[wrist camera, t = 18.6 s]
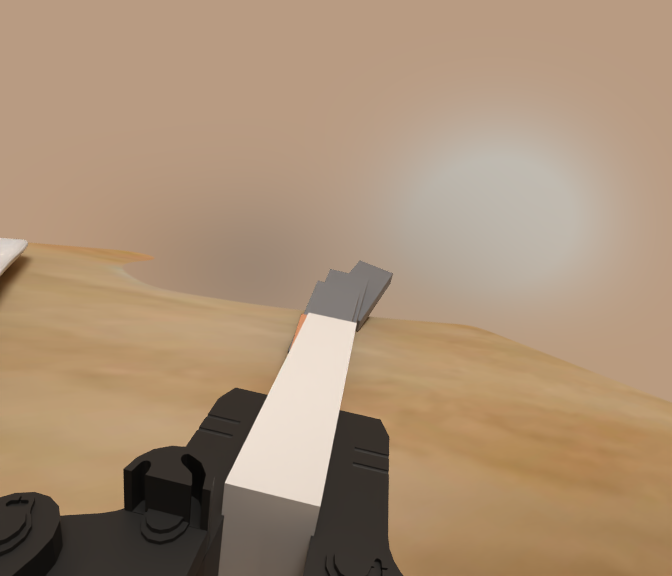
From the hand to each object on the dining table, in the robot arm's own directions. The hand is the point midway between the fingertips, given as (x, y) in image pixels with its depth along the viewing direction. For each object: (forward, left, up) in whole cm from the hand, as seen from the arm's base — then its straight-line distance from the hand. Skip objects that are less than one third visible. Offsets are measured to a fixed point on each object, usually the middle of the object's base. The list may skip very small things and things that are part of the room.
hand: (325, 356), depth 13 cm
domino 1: (+2, -22, -14) cm, 26 cm away
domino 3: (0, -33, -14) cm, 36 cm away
